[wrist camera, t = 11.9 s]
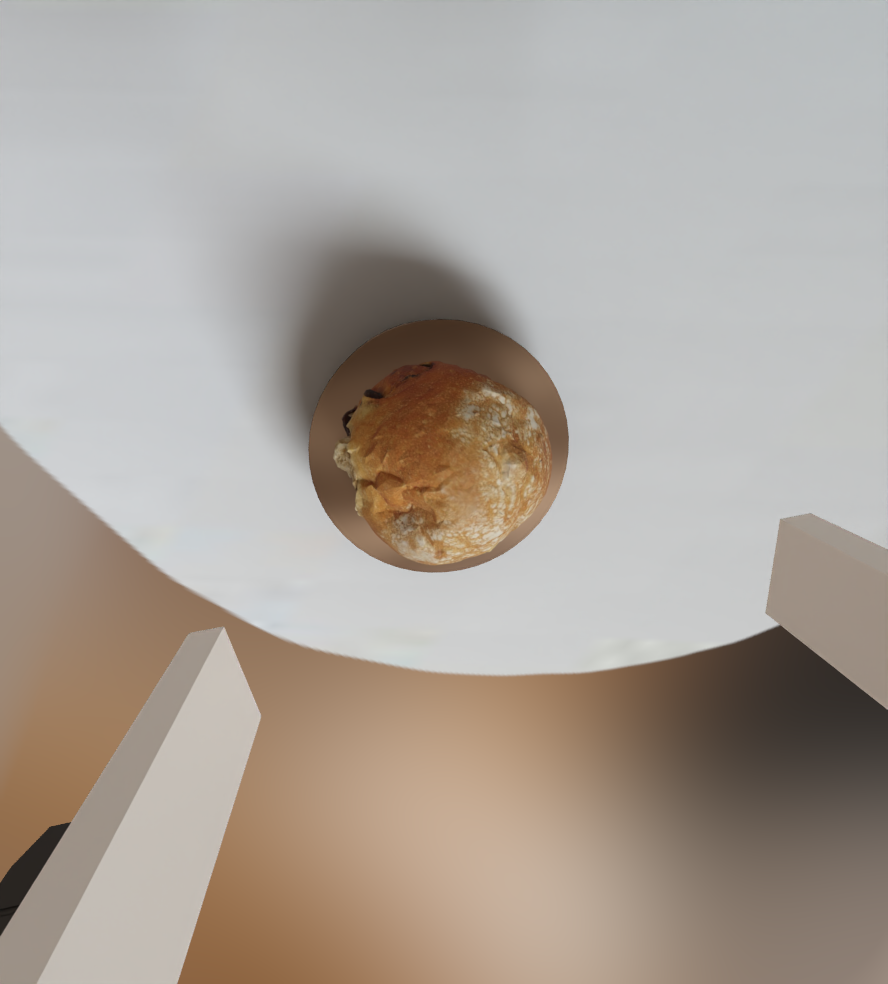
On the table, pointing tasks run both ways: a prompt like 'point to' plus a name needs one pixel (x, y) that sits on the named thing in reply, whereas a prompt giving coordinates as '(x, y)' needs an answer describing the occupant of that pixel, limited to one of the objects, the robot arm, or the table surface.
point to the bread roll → (444, 461)
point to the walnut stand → (414, 347)
